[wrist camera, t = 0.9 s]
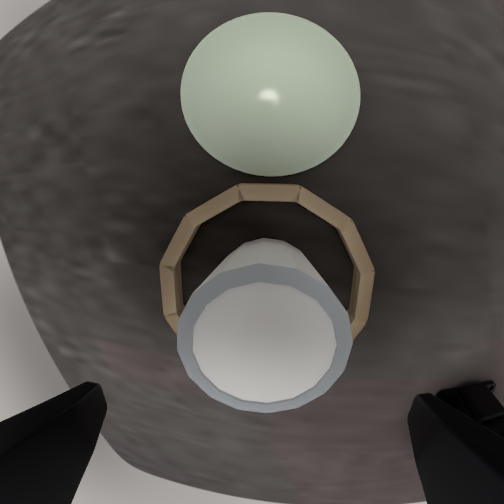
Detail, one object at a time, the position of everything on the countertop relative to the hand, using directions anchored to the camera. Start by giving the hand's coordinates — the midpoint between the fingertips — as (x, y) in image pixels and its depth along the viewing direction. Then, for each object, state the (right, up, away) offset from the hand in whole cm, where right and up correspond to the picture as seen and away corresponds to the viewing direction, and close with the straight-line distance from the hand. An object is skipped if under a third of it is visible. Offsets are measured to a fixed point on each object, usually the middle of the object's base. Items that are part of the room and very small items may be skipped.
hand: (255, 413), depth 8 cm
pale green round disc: (+1, +13, +8) cm, 15 cm away
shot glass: (+1, +2, +11) cm, 11 cm away
